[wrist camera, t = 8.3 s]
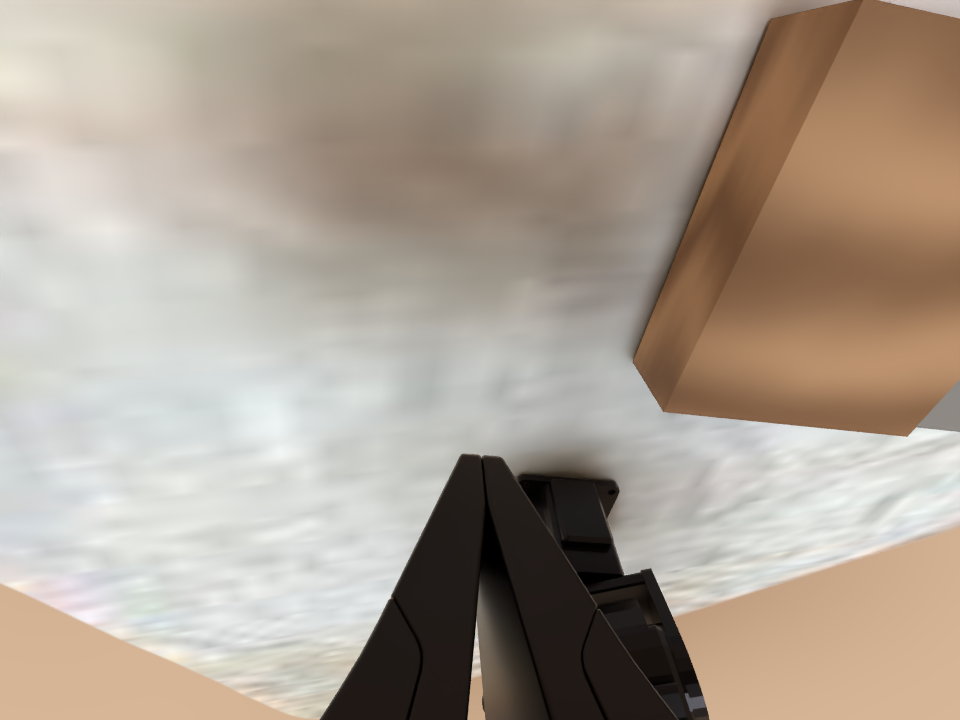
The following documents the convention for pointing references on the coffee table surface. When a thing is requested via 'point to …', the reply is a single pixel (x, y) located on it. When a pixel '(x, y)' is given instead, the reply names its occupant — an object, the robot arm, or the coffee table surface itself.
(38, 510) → the coffee table surface
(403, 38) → the coffee table surface
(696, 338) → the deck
